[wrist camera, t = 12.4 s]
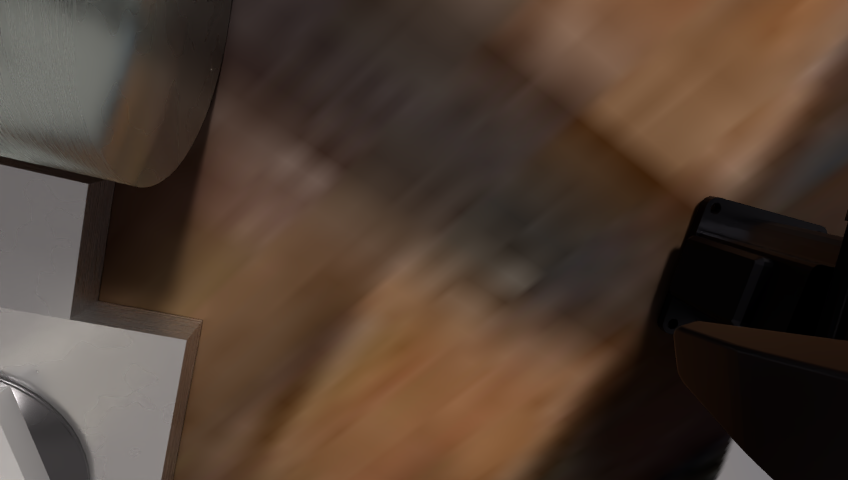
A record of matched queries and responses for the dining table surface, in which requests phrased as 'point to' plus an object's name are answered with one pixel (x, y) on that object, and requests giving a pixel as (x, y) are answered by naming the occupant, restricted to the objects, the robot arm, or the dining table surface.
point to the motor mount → (95, 221)
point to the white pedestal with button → (17, 443)
